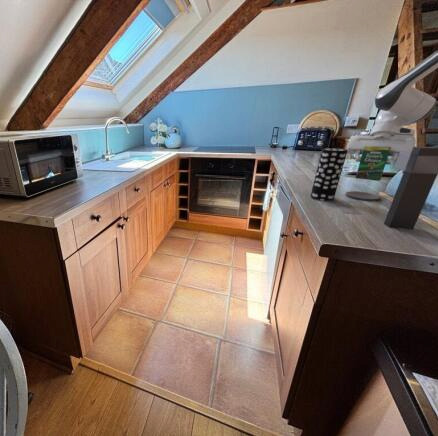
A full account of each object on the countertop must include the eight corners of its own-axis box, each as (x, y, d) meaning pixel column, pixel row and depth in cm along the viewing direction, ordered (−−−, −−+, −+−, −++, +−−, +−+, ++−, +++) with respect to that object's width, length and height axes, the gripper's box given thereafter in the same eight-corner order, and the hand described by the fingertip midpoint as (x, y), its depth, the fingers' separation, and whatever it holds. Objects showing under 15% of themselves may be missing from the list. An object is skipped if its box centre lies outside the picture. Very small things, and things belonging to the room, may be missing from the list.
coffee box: (353, 178, 103) (363, 145, 97) (355, 176, 104) (365, 145, 99) (379, 181, 97) (391, 147, 92) (380, 180, 98) (392, 146, 93)
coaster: (361, 192, 109) (362, 190, 109) (385, 200, 99) (386, 198, 98) (338, 193, 108) (339, 191, 108) (360, 201, 98) (361, 199, 98)
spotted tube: (333, 196, 104) (346, 148, 97) (334, 202, 98) (348, 151, 90) (310, 194, 109) (321, 147, 101) (310, 199, 102) (322, 150, 94)
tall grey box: (375, 217, 83) (402, 144, 74) (397, 219, 81) (427, 144, 72) (389, 227, 76) (420, 147, 66) (413, 229, 74) (449, 148, 65)
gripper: (352, 129, 104) (341, 155, 102) (421, 130, 91) (410, 160, 88) (351, 139, 109) (340, 164, 107) (416, 141, 95) (405, 170, 93)
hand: (372, 162), depth 97 cm, fingers closed on coffee box, 8 cm apart
